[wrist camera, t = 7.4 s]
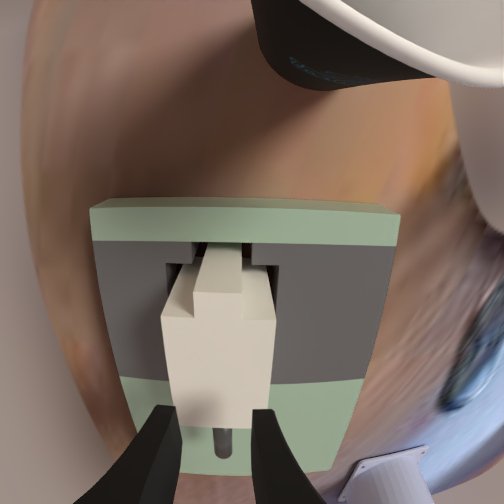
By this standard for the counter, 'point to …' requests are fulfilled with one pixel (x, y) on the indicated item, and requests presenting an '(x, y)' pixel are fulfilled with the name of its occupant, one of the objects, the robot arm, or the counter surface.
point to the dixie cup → (382, 41)
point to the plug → (219, 342)
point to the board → (284, 300)
